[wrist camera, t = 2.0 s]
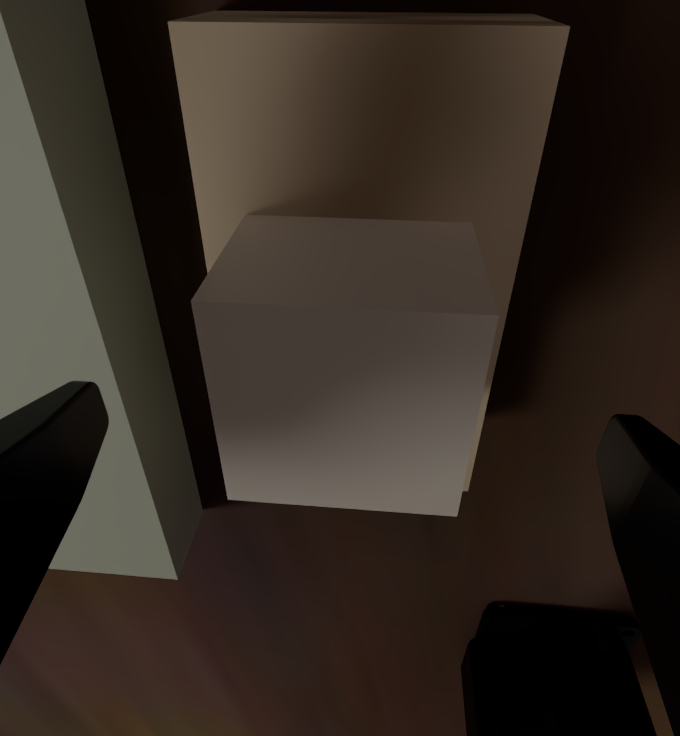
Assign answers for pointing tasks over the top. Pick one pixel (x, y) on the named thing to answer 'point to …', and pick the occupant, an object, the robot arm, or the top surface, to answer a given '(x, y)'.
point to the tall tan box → (371, 123)
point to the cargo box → (346, 360)
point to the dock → (85, 294)
